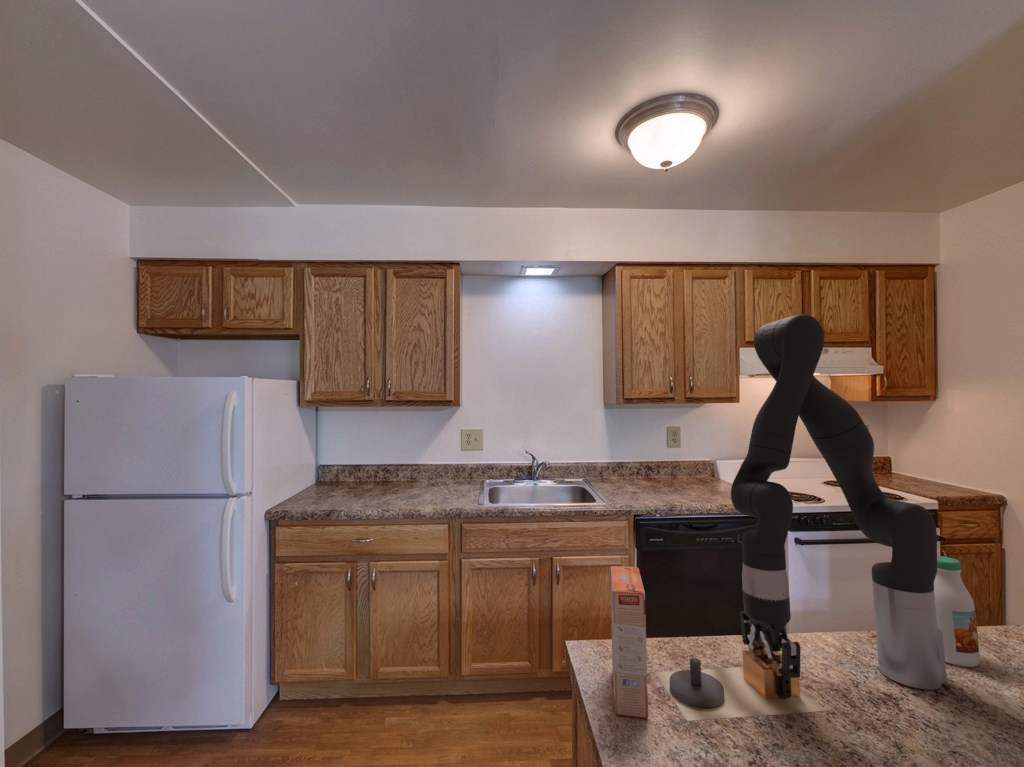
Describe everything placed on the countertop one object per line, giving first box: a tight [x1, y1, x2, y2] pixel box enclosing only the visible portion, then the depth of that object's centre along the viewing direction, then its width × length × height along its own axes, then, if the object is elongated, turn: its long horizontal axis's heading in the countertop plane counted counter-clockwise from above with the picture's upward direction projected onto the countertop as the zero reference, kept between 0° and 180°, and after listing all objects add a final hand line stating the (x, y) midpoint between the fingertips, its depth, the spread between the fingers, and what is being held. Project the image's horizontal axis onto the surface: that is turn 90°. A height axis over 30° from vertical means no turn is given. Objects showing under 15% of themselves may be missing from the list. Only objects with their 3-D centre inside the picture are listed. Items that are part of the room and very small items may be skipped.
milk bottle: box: [934, 555, 981, 668], centre depth 94 cm, size 8×8×20 cm
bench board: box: [653, 657, 828, 722], centre depth 82 cm, size 24×14×7 cm, turn 95°
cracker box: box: [610, 565, 649, 719], centre depth 84 cm, size 14×6×21 cm, turn 168°
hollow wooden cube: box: [741, 649, 801, 700], centre depth 82 cm, size 6×6×5 cm
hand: (770, 684), depth 82 cm, fingers closed on hollow wooden cube, 6 cm apart
